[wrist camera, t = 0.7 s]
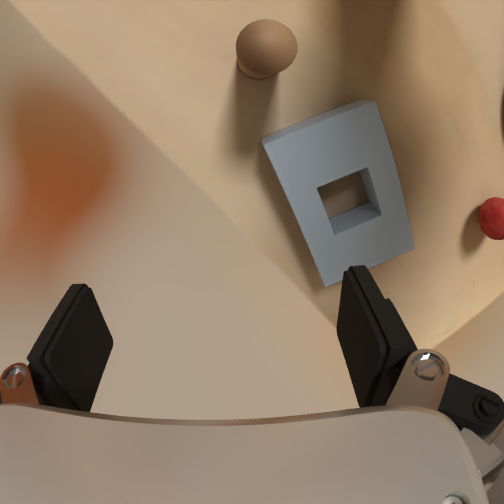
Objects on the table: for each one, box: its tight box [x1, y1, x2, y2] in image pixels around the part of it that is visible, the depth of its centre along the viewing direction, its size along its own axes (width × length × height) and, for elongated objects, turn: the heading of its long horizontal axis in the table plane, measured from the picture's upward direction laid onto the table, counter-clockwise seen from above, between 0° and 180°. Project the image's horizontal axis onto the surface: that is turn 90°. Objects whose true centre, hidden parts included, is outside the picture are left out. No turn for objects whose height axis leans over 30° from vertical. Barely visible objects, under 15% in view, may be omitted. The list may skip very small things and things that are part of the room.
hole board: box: [261, 99, 414, 287], centre depth 33 cm, size 12×18×4 cm, turn 25°
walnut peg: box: [236, 19, 297, 79], centre depth 24 cm, size 4×4×10 cm
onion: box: [479, 197, 504, 240], centre depth 33 cm, size 6×6×8 cm
